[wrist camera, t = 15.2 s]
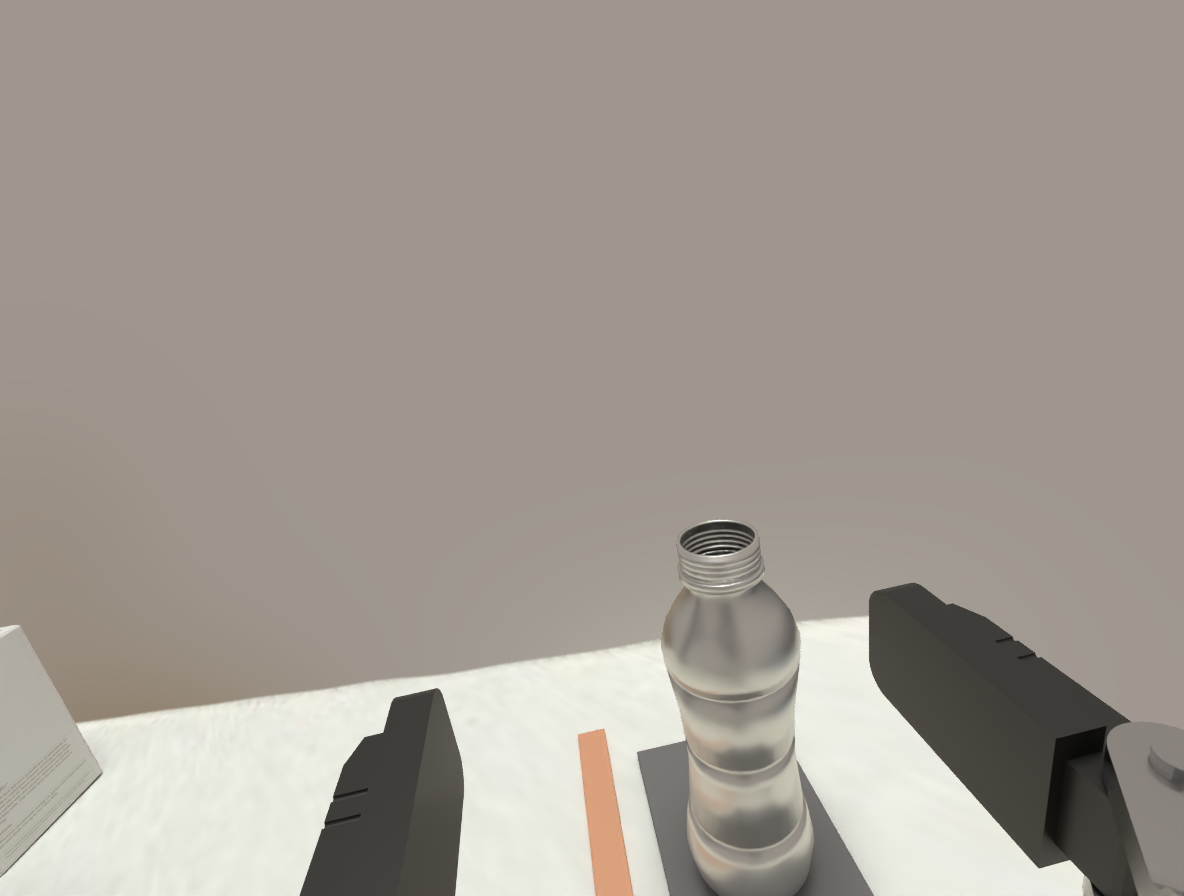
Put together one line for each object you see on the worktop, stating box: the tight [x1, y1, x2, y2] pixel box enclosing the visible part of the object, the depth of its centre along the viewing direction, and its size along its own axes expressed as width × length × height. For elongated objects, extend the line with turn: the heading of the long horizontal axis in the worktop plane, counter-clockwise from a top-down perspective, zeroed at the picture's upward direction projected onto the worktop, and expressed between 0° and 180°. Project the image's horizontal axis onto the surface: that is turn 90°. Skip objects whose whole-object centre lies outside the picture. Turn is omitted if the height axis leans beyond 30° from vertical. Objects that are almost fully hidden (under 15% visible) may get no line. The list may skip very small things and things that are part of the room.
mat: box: [637, 741, 874, 896], centre depth 31 cm, size 10×18×1 cm, turn 6°
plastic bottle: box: [661, 519, 814, 896], centre depth 28 cm, size 6×7×20 cm
